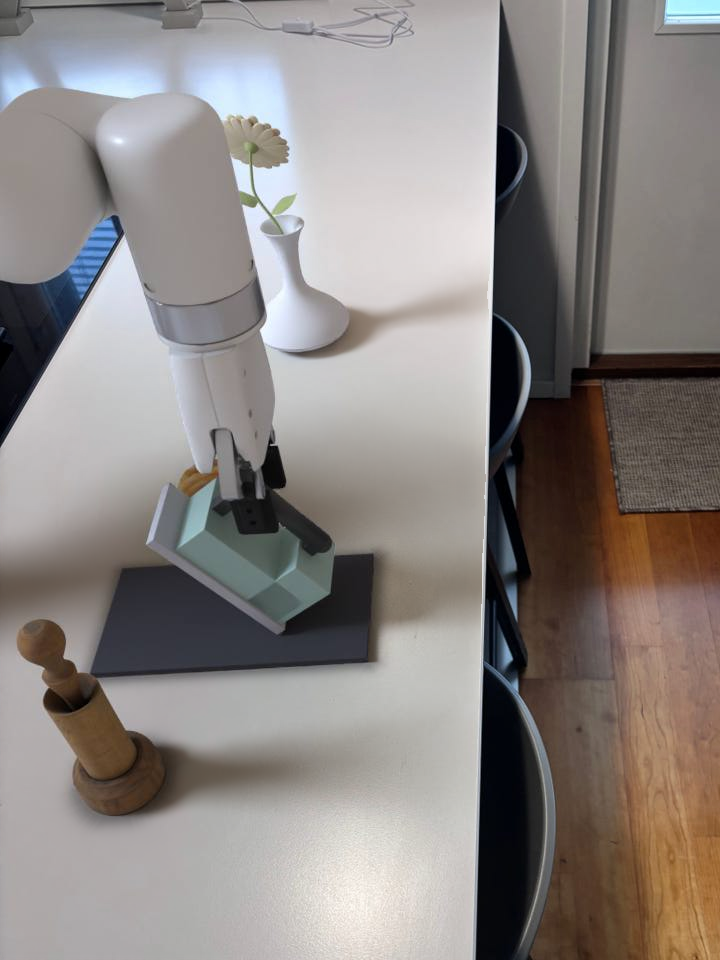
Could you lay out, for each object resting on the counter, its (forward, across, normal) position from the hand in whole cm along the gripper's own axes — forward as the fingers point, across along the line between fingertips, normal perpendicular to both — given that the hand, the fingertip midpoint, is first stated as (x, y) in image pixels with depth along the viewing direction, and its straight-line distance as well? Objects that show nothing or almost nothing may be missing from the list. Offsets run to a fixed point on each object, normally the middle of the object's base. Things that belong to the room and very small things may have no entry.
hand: (263, 507), depth 80 cm
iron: (+6, 0, -5) cm, 8 cm away
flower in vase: (+13, -47, -4) cm, 49 cm away
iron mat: (+12, 0, -5) cm, 13 cm away
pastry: (+13, -15, -9) cm, 22 cm away
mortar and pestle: (+13, +17, -12) cm, 25 cm away
